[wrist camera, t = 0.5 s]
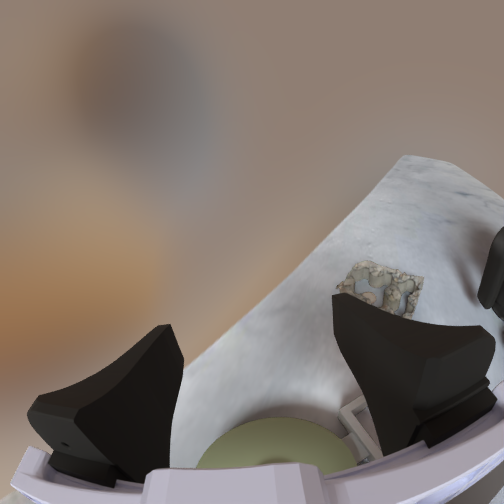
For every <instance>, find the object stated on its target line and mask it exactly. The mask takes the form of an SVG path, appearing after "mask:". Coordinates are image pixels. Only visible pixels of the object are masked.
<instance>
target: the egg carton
mask: <svg viewBox="0 0 504 504" xmlns="http://www.w3.org/2000/svg"><path fill="white" fill-rule="evenodd" d="M362 279H367V280H369V285H370V286H372V287H374V288H380V287H382V286H383V285H388V287H387V288H386V289H385V290H384V298H383V306H382V307H379V309H382V310H384V311H386V312H389V313H392V314H394V315H395V313H394V311H396V310H397V309H398V308H399V305H400V300H401V295H402V294H403V293H404V292H405V291H408V292H412V295H409V297H408V303H407V307H406V313H405V314H403V316H402V317H403V318H407V319H410V320H411V318H412V315H413V314H414V311H415V306H416V305H417V302H418V298H419V295H420V292H421V290H422V287H423V281H424V277H423V276H414V275H412V276H409V275H407V274H406V273H403V274H402V273H401V272H400V271H399V270H398V269H390V268H388V267H382V266H380V265H378V264H376V263H374V262H372V261H363V262H360V263H357V264H356V265H355V266H354V267H353V268H352V270H351V272H350V273H348V275H347V277H346V280H345V281H344V283H343V281H342V282H341V283H340V284H339V285H337V287H336V289H337V288H339V289H340V293H344V292H345V293H348V294H350V295H352V296H354V297H356V298H358V299H360V300H362V301H364V302H366V303H368V304H370V305H372V303H374V302H375V301H376V296H375V294H373V293H371V292H365V293H363V294H356V293H354V287H355V282H358V281H361V280H362Z"/></svg>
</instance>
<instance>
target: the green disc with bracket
mask: <svg viewBox="0 0 504 504" xmlns="http://www.w3.org/2000/svg"><path fill="white" fill-rule="evenodd" d="M367 407H368V405H367V403H366V400H365V397H364V395H363V394H362V395H361V396H359V397H358V398H356V399H355V400H353V401H352V402H350V403H349V404H347V405H345V406H344V407H342V408H341V409H339V412H338V419H339V420H340V422H341V423H342V424H343V426H344V427H345V429H346V430H347V431H348V433H349V434H348V435H347V436H345V437H343V438H342V439H340V438H339V437H337V436H336V435H335V434H334V433H332V432H331V431H329V430H328V429H326V428H324V427H322V426H320V425H318V424H315V423H313V422H310V421H306V420H302V419H297V418H289V417H272V418H264V419H259V420H255V421H251V422H248V423H245V424H242V425H240V426H238V427H236V428H234V429H232V430H230V431H228V432H227V433H225V434H224V435H222V436H221V437H220V438H218V439H217V440H216V441H215V442H214V443H213V444H212V445H211V446H210V447H209V448H208V449H207V450H206V452H205V453H204V454H203V456H202V457H201V459H200V461H199V463H198V465H197V467H196V468H230V467H244V466H255V465H263V464H271V463H287V462H300V463H305V464H311V465H314V466H317V467H318V468H319V469H320V471H321V472H322V473H323V475H327V474H331V473H335V472H339V471H343V470H346V469H350V468H353V467H356V466H357V464H358V463H359V462H361V461H362V460H364V459H365V458H368V460H369V461H370V462H371V461H374V460H377V459H380V458H382V457H383V454H382V451H381V450H380V449H379V447H378V446H377V445H376V443H375V442H374V441H373V439H372V438H371V437H370V436H369V434H368V433H367V432H366V430H365V429H364V428H363V426H362V425H361V424H360V423H359V421H358V420H357V419H356V417H355V415H356V414H358V413H359V412H361V411H362V410H364V409H365V408H367Z"/></svg>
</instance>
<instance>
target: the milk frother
mask: <svg viewBox="0 0 504 504" xmlns="http://www.w3.org/2000/svg"><path fill="white" fill-rule="evenodd" d="M477 297H478V299H479V301H480V303H481V304H482V306H483V307H484V308H485V309H490V308H491V307H493V310H494V311H495V313H496V314H497V315H498V316H499V317H500V318H501V319H502V320H503V321H504V227H503V228H501V230H500V231H499V232H498V233H497V235H496V237H495V238H494V240H493V242H492V245H491V248H490V252H489V256H488V260H487V263H486V267H485V270H484V274H483V277H482V281H481V284H480V287H479V290H478V293H477Z"/></svg>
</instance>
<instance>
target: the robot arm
mask: <svg viewBox="0 0 504 504" xmlns="http://www.w3.org/2000/svg"><path fill="white" fill-rule="evenodd" d="M332 307H333V327H334V335H335V338H336V341H337V344H338V346H339V349H340V351H341V353H342V355H343V357H344V359H345V360H346V362H347V364H348V366H349V368H350V369H351V371H352V373H353V375H354V377H355V379H356V380H357V382H358V384H359V386H360V388H361V390H362V392H363V395H364V397H365V400H366V403H367V405H368V408H369V411H370V414H371V416H372V419H373V422H374V425H375V429H376V432H377V435H378V439H379V442H380V446H381V450H382V454H383V457H382V458H380V459H377V460H374V461H371V462H368V463H366V464H362V465H359V466H356V467H353V468H350V469H346V470H343V471H339V472H335V473H331V474H327V475H323V473H322V472H321V471H320V469H319V468H318V467H317V466H314V465H311V464H305V463H300V462H287V463H271V464H263V465H255V466H244V467H230V468H170V438H171V427H172V420H173V414H174V410H175V406H176V402H177V398H178V394H179V390H180V386H181V382H182V377H183V367H184V357H183V355H182V353H181V350H180V348H179V345H178V343H177V340H176V338H175V335H174V332H173V330H172V327H171V325H170V324H167V325H159V326H157V327H155V328H154V329H153V330H152V331H150V332H149V333H148V334H147V335H146V336H144V337H143V338H142V339H141V340H140V341H139V342H138V343H136V344H135V345H134V346H133V347H132V348H131V349H130V350H128V351H127V352H126V353H124V354H123V355H122V356H121V357H119V358H118V359H117V360H116V361H114V362H113V363H111V364H110V365H109V366H107V367H105V368H104V369H102V370H101V371H99V372H98V373H96V374H94V375H92V376H90V377H88V378H86V379H84V380H82V381H80V382H78V383H76V384H74V385H71V386H69V387H66V388H63V389H61V390H57V391H54V392H50V393H46V394H43V395H39V396H38V397H37V399H36V400H35V401H34V403H33V404H32V406H31V407H30V409H29V410H28V412H27V416H28V420H29V422H30V424H31V426H32V427H33V428H34V429H35V431H36V432H37V433H38V434H39V435H40V436H41V437H42V439H43V440H44V441H45V442H46V443H47V444H48V445H49V446H50V447H51V448H52V449H53V450H54V451H53V453H52V455H50V454H49V453H47V452H45V451H43V450H41V449H38V448H35V447H33V446H29V447H28V449H27V451H26V452H25V454H24V456H23V458H22V460H21V462H20V464H19V466H18V468H17V470H16V472H15V474H14V476H13V478H12V480H11V483H10V484H11V486H13V487H14V488H15V489H16V490H18V491H19V492H20V493H22V494H23V495H24V496H26V497H27V498H28V499H30V500H31V501H33V502H34V503H35V504H445V503H446V502H448V501H450V500H451V499H453V498H454V497H456V496H457V495H459V494H460V493H462V492H463V491H465V490H466V489H468V488H469V487H470V486H472V485H473V484H475V483H476V482H477V481H479V480H480V479H481V478H483V477H484V476H485V475H486V474H488V473H489V472H490V471H491V470H493V469H494V468H495V467H496V466H498V465H499V464H500V463H501V462H502V461H503V460H504V380H503V381H502V382H501V383H499V384H498V385H497V386H496V387H495V388H494V389H493V391H492V392H491V390H490V389H489V388H488V386H489V384H490V381H489V380H488V379H487V378H486V377H485V376H486V373H487V371H488V369H489V366H490V364H491V361H492V359H493V356H494V352H495V344H496V342H495V339H494V337H493V336H492V335H491V334H490V333H488V332H487V331H486V330H485V329H484V328H483V327H482V326H480V325H479V326H445V325H435V324H429V323H423V322H418V321H414V320H410V319H407V318H403V317H400V316H397V315H394V314H392V313H389V312H386V311H384V310H382V309H379V308H377V307H375V306H373V305H370V304H368V303H366V302H364V301H362V300H360V299H358V298H356V297H354V296H352V295H350V294H348V293H345V292H344V293H340V294H336V295H332Z"/></svg>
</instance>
